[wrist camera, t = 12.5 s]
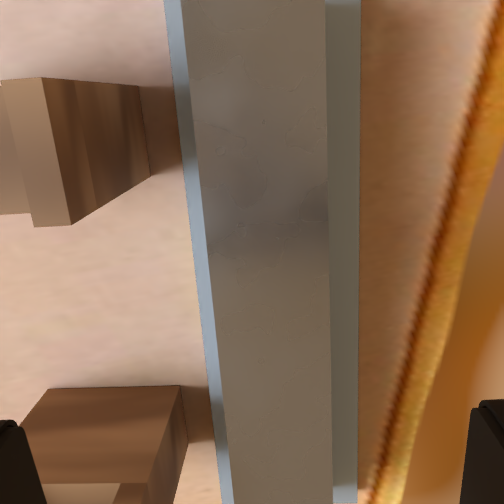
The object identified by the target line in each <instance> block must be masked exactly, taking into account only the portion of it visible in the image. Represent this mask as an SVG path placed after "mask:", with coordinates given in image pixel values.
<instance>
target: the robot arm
mask: <svg viewBox="0 0 504 504" xmlns="http://www.w3.org/2000/svg"><path fill="white" fill-rule="evenodd" d="M467 439H468V440H467V448H466V455H465V464H464V472H463V480H462V488H461V496H460V504H504V399H497V400H482V401H481V402H480V404H479V407H478V408H473V409H472V410H471V414H470V422H469V430H468V438H467ZM0 504H47V501H46V498H45V495H44V492H43V488H42V485H41V482H40V479H39V475H38V472H37V469H36V466H35V462H34V459H33V456H32V453H31V449H30V446H29V443H28V440H27V436H26V433H25V431H24V429H23V428H22V427H18V425H17V423H16V422H15V421H14V420H0Z"/></svg>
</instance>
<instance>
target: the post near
mask: <svg viewBox="0 0 504 504" xmlns="http://www.w3.org/2000/svg"><path fill="white" fill-rule="evenodd" d="M150 176H151V175H150V168H149V161H148V154H147V147H146V139H145V132H144V125H143V118H142V111H141V104H140V97H139V89H138V86H133V85H121V84H110V83H99V82H88V81H77V80H65V79H54V78H43V77H39V78H26V79H14V80H1V86H0V215H4V214H22V213H31V216H32V220H33V225H34V227H49V226H68V225H72V224H74V223H76V222H77V221H79V220H81V219H82V218H84V217H85V216H87V215H89V214H90V213H92V212H94V211H95V210H97V209H98V208H100V207H102V206H103V205H105V204H107V203H108V202H110V201H111V200H113V199H115V198H116V197H118V196H120V195H121V194H123V193H124V192H126V191H128V190H129V189H131V188H133V187H134V186H136V185H137V184H139V183H141V182H142V181H144V180H146V179H147V178H149V177H150Z"/></svg>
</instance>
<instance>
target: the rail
mask: <svg viewBox="0 0 504 504" xmlns="http://www.w3.org/2000/svg"><path fill="white" fill-rule="evenodd" d="M180 2H181V11H182V20H183V30H184V39H185V49H186V58H187V67H188V77H189V86H190V95H191V105H192V114H193V124H194V133H195V142H196V152H197V161H198V170H199V180H200V189H201V198H202V208H203V217H204V227H205V236H206V245H207V255H208V264H209V273H210V283H211V292H212V302H213V311H214V320H215V330H216V339H217V348H218V358H219V367H220V377H221V386H222V395H223V405H224V414H225V423H226V433H227V442H228V452H229V461H230V470H231V480H232V489H233V498H234V504H333V469H332V407H331V345H330V283H329V221H328V158H327V96H326V34H325V0H180Z"/></svg>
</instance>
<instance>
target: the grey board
mask: <svg viewBox="0 0 504 504" xmlns="http://www.w3.org/2000/svg"><path fill="white" fill-rule="evenodd" d="M164 8H165V16H166V25H167V33H168V42H169V51H170V59H171V68H172V76H173V85H174V94H175V102H176V111H177V119H178V128H179V137H180V145H181V154H182V162H183V171H184V180H185V188H186V197H187V205H188V214H189V222H190V231H191V240H192V248H193V257H194V265H195V274H196V283H197V291H198V300H199V308H200V317H201V326H202V334H203V343H204V351H205V360H206V369H207V377H208V386H209V394H210V403H211V412H212V420H213V429H214V437H215V446H216V455H217V463H218V472H219V480H220V489H221V497H222V504H234V498H233V489H232V480H231V470H230V461H229V452H228V442H227V433H226V423H225V414H224V405H223V395H222V386H221V377H220V367H219V358H218V348H217V339H216V330H215V320H214V311H213V302H212V292H211V283H210V273H209V264H208V255H207V245H206V236H205V227H204V217H203V208H202V198H201V189H200V180H199V170H198V161H197V152H196V142H195V133H194V124H193V114H192V105H191V95H190V86H189V77H188V67H187V58H186V49H185V39H184V30H183V20H182V11H181V2H180V0H164ZM325 34H326V96H327V158H328V221H329V283H330V345H331V407H332V469H333V503H357V484H358V349H359V213H360V77H361V0H325Z"/></svg>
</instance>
